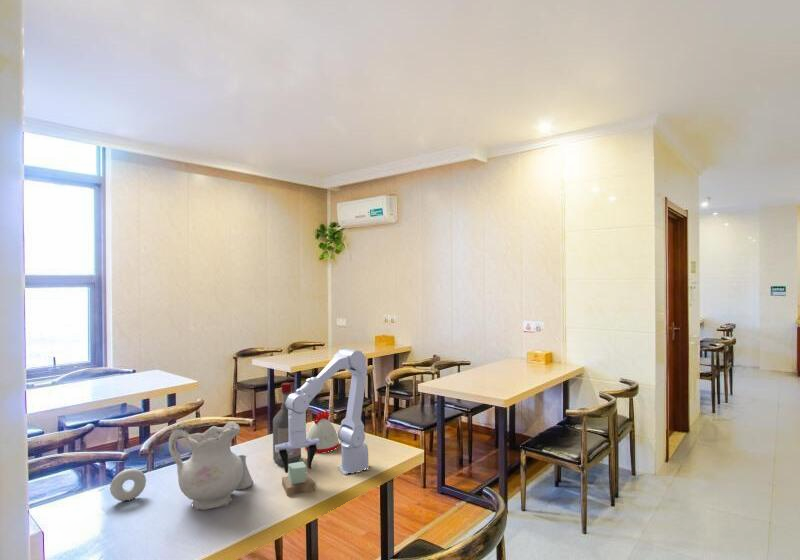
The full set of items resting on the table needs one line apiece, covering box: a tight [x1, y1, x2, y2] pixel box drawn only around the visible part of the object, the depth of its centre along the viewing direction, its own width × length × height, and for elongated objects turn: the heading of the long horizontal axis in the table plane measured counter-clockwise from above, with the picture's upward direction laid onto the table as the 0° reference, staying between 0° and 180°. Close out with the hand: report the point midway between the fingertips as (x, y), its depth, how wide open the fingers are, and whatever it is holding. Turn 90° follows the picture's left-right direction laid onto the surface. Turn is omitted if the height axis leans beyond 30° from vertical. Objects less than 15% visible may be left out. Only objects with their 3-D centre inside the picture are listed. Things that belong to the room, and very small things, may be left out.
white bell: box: [304, 409, 339, 454], centre depth 192 cm, size 14×14×15 cm
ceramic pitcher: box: [168, 420, 243, 511], centre depth 145 cm, size 22×20×25 cm
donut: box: [109, 468, 147, 502], centre depth 147 cm, size 10×3×10 cm, turn 124°
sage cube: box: [287, 461, 307, 485], centre depth 154 cm, size 5×5×5 cm
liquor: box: [272, 382, 302, 467], centre depth 177 cm, size 9×9×30 cm
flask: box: [235, 454, 254, 491], centre depth 156 cm, size 7×7×10 cm
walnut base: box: [281, 472, 315, 497], centre depth 155 cm, size 9×9×3 cm
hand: (297, 469), depth 155 cm, fingers open, 7 cm apart
